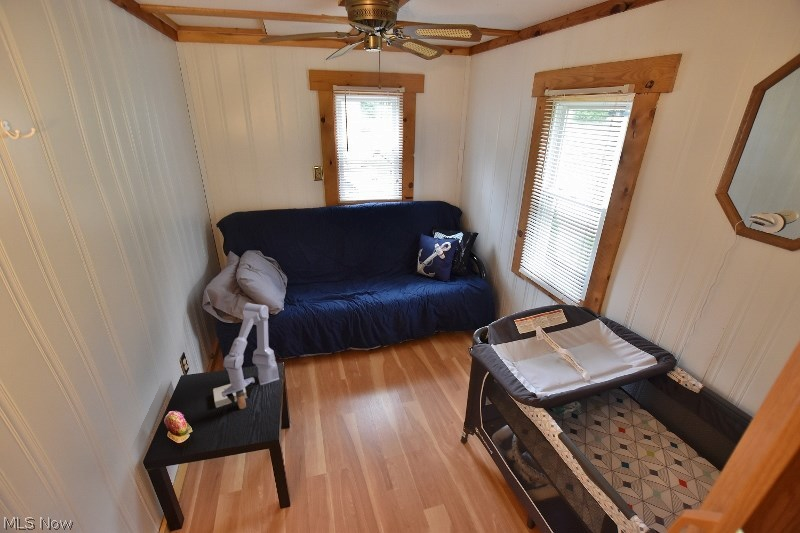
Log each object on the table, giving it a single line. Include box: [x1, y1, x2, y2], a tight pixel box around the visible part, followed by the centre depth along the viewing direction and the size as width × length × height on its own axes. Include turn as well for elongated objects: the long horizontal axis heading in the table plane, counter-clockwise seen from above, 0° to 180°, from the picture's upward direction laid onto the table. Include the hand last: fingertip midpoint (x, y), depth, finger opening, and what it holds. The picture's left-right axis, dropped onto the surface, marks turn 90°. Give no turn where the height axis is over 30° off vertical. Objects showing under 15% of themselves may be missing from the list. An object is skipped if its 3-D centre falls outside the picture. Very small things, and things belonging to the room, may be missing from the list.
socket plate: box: [212, 383, 249, 409], centre depth 179 cm, size 14×10×4 cm
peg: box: [236, 389, 247, 410], centre depth 171 cm, size 3×3×9 cm
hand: (241, 400), depth 172 cm, fingers open, 6 cm apart
